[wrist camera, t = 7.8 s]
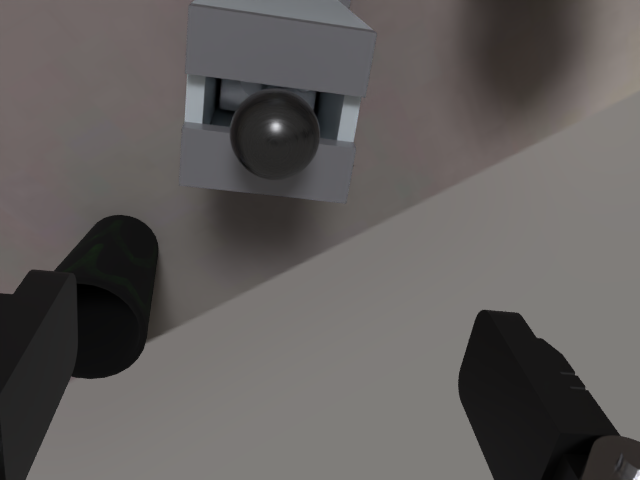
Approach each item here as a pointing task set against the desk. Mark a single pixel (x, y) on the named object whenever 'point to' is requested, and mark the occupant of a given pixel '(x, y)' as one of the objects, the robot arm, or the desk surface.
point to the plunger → (271, 127)
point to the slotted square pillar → (280, 70)
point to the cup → (112, 294)
